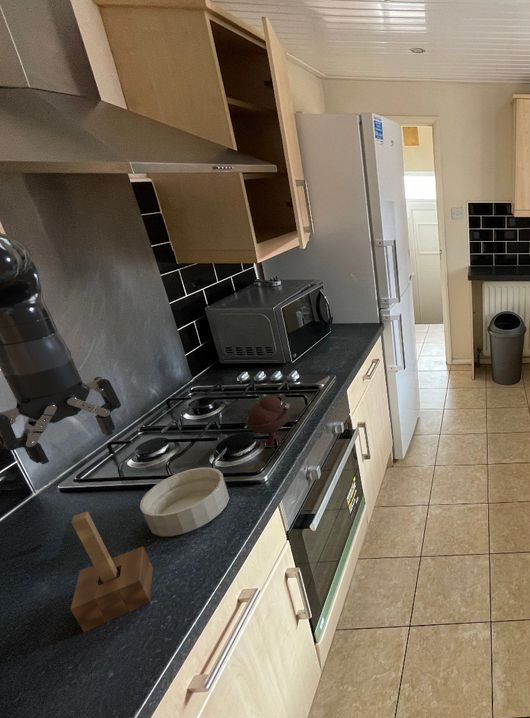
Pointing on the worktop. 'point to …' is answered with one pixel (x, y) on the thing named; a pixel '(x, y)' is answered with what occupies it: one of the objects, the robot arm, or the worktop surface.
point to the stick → (95, 547)
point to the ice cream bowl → (267, 418)
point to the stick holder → (113, 590)
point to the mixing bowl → (184, 501)
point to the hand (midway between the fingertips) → (77, 447)
